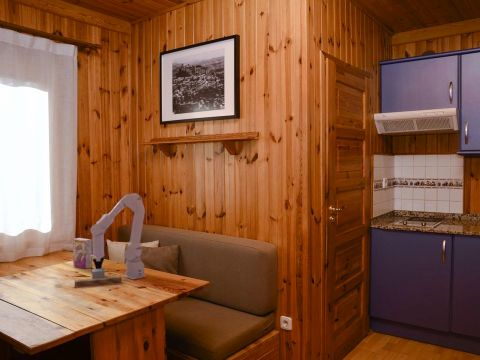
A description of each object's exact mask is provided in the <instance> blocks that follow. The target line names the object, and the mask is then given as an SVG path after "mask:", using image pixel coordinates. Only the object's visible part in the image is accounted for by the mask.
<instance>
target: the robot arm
mask: <svg viewBox="0 0 480 360" xmlns="http://www.w3.org/2000/svg"><path fill="white" fill-rule="evenodd" d="M126 207H128V208H129V209H130V210H132V212H133V219H132V226H131V232H130V237H129V243H128V244H127V246H126V250H125V251H124V259H125V260H126V261H125V262H126V263H125V265H126V267H125V268H126V269H125V271H126V273H125V275H123V277H122V278H127V279H130V280H137V279H141V278H142V279H143V278H145V277H146V275H145V263H144V262H143V261H142V260H141V256H142V254H143V250H142V243H141V239H142V238H141V237H142V232H143V231H142V230H143V225H144V219H145V214H146V212H145V211H146V209H145V206H144V203H143V198H142V197H141V195H140V194H138V193H136V192H134V193H128V194H127V193H126V194H125V195H124V196H123V197H121V199H120V200H119V201H118V202H117V204H116V205H115V206H114V207H113V208H112V210H111V211H109V213H105V214H102V216H101V218H100V219H99V220H98V221H96V222H95V223H96V224H93V225H92V226H91V228H90V233H91V235H92V255H90V257H92V263H93V264H94V266H95V268H94V269H102V265H103V262H104V260H105V242H104V241H105V239H104V238H105V237H104V236H105V233H106V231H107V229H108V228H109V227H110V225H112V224H113V222H114V221H115V217H116V216H117V215H118V214H119V213H120V212H121V211H122V210H123V209H124V208H126Z"/></svg>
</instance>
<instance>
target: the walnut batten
mask: <svg viewBox="0 0 480 360" xmlns="http://www.w3.org/2000/svg"><path fill="white" fill-rule="evenodd" d="M122 279H123V277H122V276H112V277H105V278H98V279H92V278H88V279H76V280H74V288H79V287H80V288H81V287H91V286H93V287H94V286H101V285H103V286H104V285H115V284H122Z"/></svg>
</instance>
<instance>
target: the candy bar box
mask: <svg viewBox="0 0 480 360" xmlns="http://www.w3.org/2000/svg"><path fill="white" fill-rule="evenodd" d="M72 251H73V253H72V255H73V258H72V259H73V267H74V266H76V267H75V268H78V267H80V268H79V269H83V268H85V269H84V270H87V269H86V268H88V269H91V268H90V267H92V268H93V257H90V255H93V239H90V238H89V239H88V238H83V237H82V238H81V237H77V238H73V239H72Z"/></svg>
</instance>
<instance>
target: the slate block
mask: <svg viewBox="0 0 480 360" xmlns="http://www.w3.org/2000/svg"><path fill="white" fill-rule="evenodd" d="M105 273H106V272H105V268H101V269H96V268H92V270H91V279H98V278H106V277H105Z"/></svg>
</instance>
